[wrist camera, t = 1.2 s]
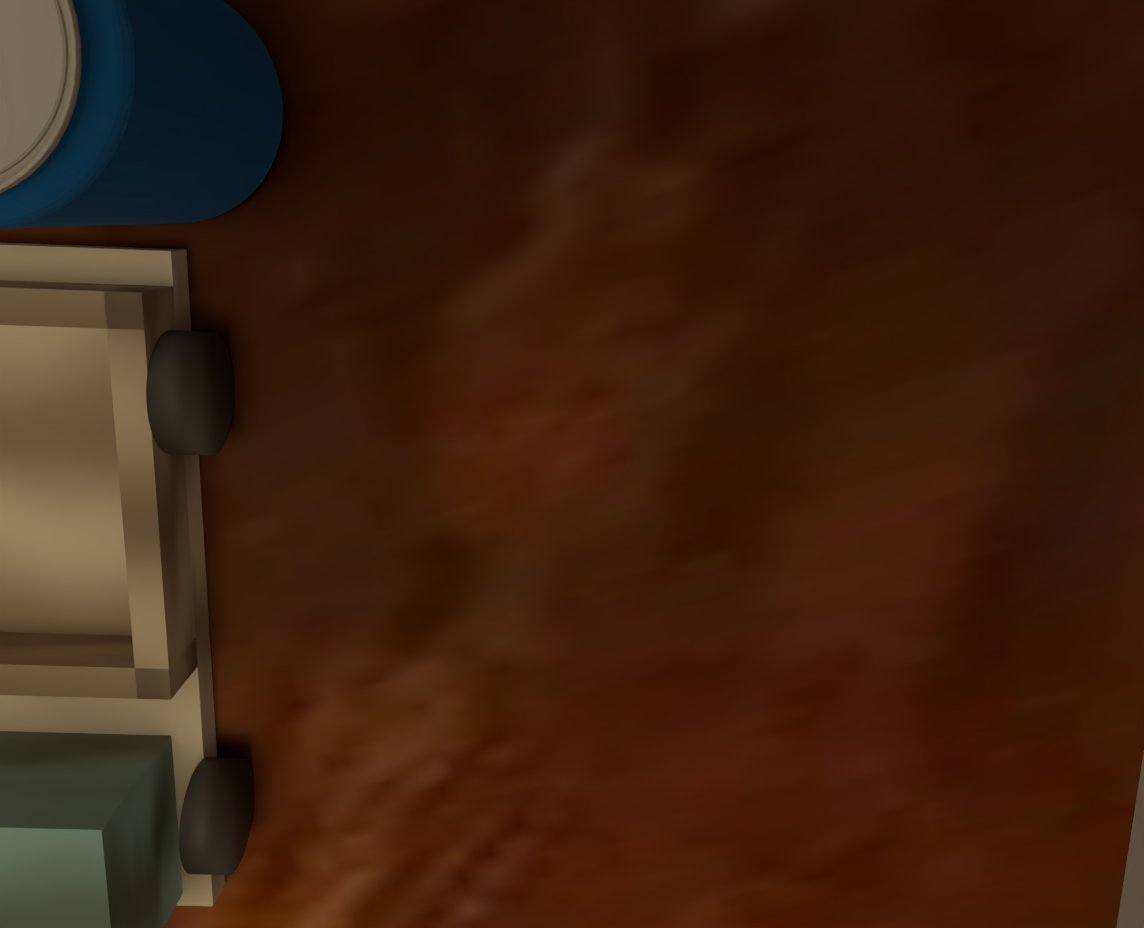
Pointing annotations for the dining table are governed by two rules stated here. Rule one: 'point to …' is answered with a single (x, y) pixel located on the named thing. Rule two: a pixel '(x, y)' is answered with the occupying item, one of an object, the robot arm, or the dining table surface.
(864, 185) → the dining table surface
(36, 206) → the beverage can
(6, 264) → the toy truck
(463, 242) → the dining table surface
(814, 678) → the dining table surface
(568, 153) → the dining table surface
